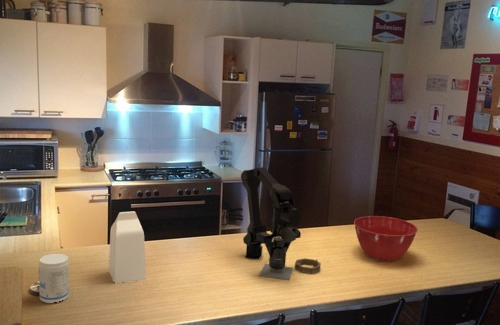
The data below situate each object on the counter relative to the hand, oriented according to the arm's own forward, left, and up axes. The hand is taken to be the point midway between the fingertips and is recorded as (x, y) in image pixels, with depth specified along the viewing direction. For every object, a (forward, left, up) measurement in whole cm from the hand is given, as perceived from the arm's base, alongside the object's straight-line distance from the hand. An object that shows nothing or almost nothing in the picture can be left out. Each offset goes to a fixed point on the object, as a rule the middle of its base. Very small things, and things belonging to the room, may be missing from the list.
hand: (277, 255), depth 198 cm
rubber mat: (0, 0, -8) cm, 8 cm away
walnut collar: (+12, +8, -8) cm, 16 cm away
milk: (-56, -23, -8) cm, 61 cm away
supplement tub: (-71, -48, -8) cm, 86 cm away
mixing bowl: (+44, +35, -8) cm, 57 cm away
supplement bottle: (0, 0, -5) cm, 5 cm away
